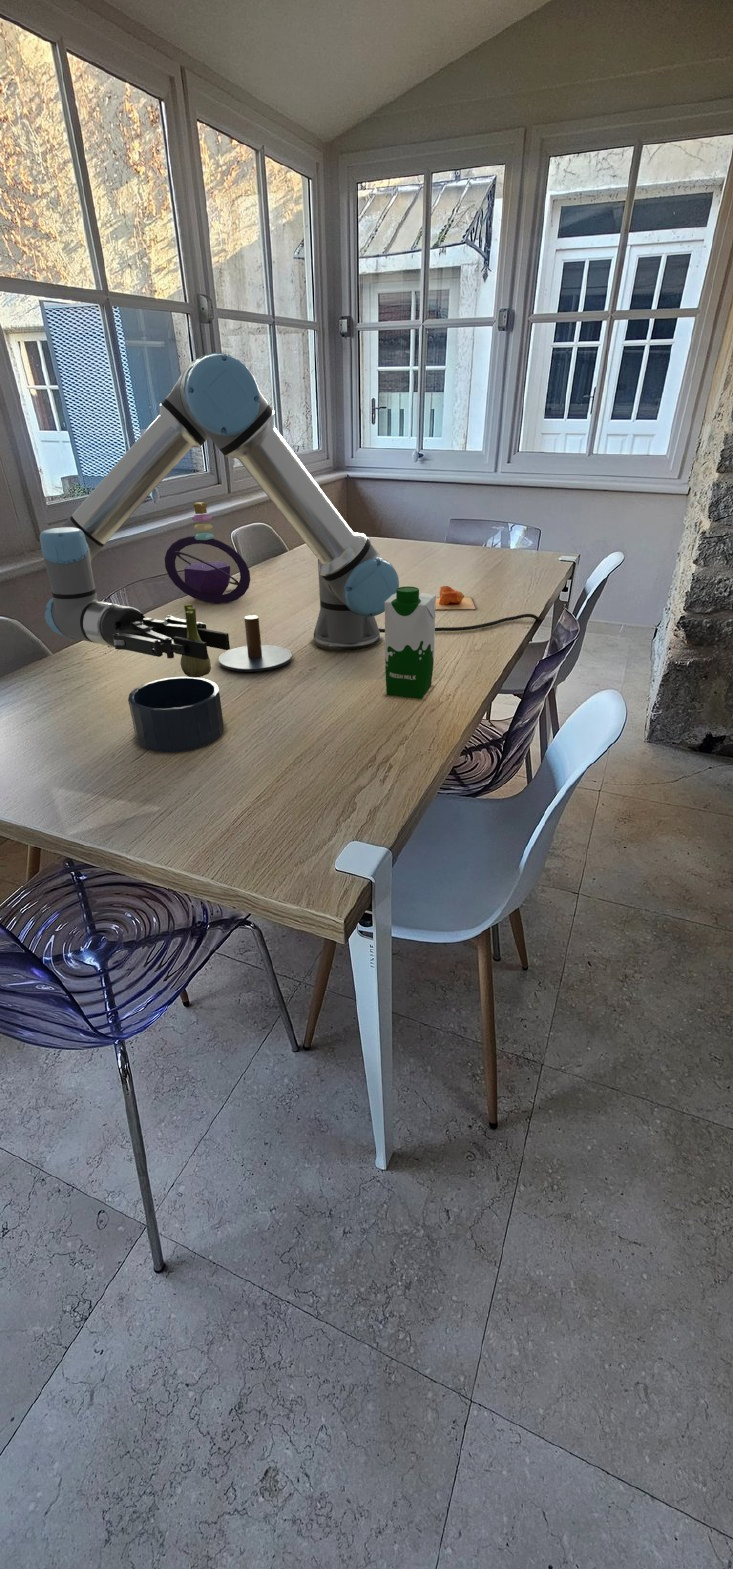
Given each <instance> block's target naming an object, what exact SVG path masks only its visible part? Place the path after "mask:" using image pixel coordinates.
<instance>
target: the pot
mask: <svg viewBox="0 0 733 1569" xmlns="http://www.w3.org/2000/svg"><path fill="white" fill-rule="evenodd" d="M127 700H128V706H129V711H130V715H131V716H130V717H131V721H132V726H133V730H134V731H133V732H134V735H135V740H136V743H137V744H138V745H139V746H140V747H142V748H144V749H146V750H148V751H152V752H157V753H166V754H167V753H170V754H173V753H183V752H190V751H194V750H198V749H201V748H204V747H207V746H208V745H210V744H213V743H215V742H216V741H217V740H219V739H220V738H221V737H222V736H223V734H224V732H225V726H224V717H223V709H222V701H221V694H220V686H219V685H218V684H217V683H216V682H214V681H213V680H210V679H207V678H203V677H198V678H192V677H188V676H175V677H174V676H173V677H165V678H161V679H155V680H152V681H150V682H146V683H144V684H142V685H140V686H138V687H136V688H134V689H133V690H132V691H131V692H130V693H129V694H128V698H127Z"/></svg>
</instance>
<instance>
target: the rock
mask: <svg viewBox="0 0 733 1569" xmlns="http://www.w3.org/2000/svg"><path fill="white" fill-rule="evenodd" d="M435 610H445V611H447V610H476V607H475V605H474V602H473V600H472V597H471V596H470V597H469V596H468V597H467V596H466V597H465V594H464V593H463V592H462V591H458V590H456V589H454V588H452V587H450V586H448V585H442V586H440V590H439V597H436V602H435Z"/></svg>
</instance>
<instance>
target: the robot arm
mask: <svg viewBox="0 0 733 1569" xmlns="http://www.w3.org/2000/svg"><path fill="white" fill-rule="evenodd" d="M259 388H260V387H259V385H258V383H257V380H256V378H255V376H254V374H253V372H252V371H251V370H250V368H248V366H246V365H245V363H243V361H241V360H240V359H238V358H236V357H234V356H233V355H231V354H227V353H223V352H210V353H206V354H203V355H201V356H200V357H199V358H196V359H194V360H193V361H191V362H189V364H187V365H186V367H185V368H184V370H183V371H182V373H181V374H180V376H179V378H178V379H177V382H176V383H175V385H174V386H173V387H172V388H171V391H170V392H169V393H168V394H167V395H166V397H165V398H164V400H163V401H162V402H161V403H160V404H159V415H158V416H157V417H156V418H155V420H153V421H152V422H151V424H150V425H149V426H148V427H147V428H146V430H145V431H144V432H143V433H142V434H141V435H140V436H139V438H138V439H136V441H135V442H134V443H133V445H132V446H131V447H130V448H128V450H127V451H126V453H124V455H123V456H122V457H121V458H120V459H119V460H118V462H116V464H115V465H114V466H113V467H112V468H111V470H110V471H109V472H108V473H107V474H106V475H105V476H104V477H103V479H102V480H100V482H99V483H98V484H97V485H96V487H94V489H93V490H92V491H90V493H89V495H88V496H87V497H86V498H85V499H84V500H83V501H82V503H81V504H80V505H79V506H78V507H77V508H76V509H75V511H74V512H73V513H71V516H69V518H68V519H67V520H65V522H64V523H63V524H62V525H61V527H54V528H48V529H45V530H42V532H40V534H39V541H40V546H41V547H40V548H41V551H40V552H41V555H42V557H43V561H44V565H45V569H46V573H47V577H48V581H49V586H50V589H51V596H52V598H50V599H49V600H48V602H46V606H45V611H44V618H45V622H46V624H47V626H48V627H49V629H50V630H51V631H53V632H54V633H55V634H57V635H60V636H63V637H66V638H68V639H71V640H76V641H77V640H79V641H84V642H89V643H94V644H98V645H102V646H107V648H109V649H111V648H114V649H115V650H117V651H118V650H121V651H130V652H134V653H139V654H143V655H148V656H152V657H158V658H160V657H162V656H164V654H166V658H167V659H174V658H175V654H177V655H180V656H182V655H185V656H189V657H194V658H199V659H203V660H206V659H208V655H209V652H208V648H214V649H219V650H222V651H228V650H231V646H230V637H229V632H224V631H223V632H222V631H220V630H219V631H218V630H213V629H208V628H207V623H205V622H201V621H196V623H197V631H198V634H199V636H200V638H201V640H202V641H197V640H192V639H187V625H186V618H185V619H184V618H178V617H176V616H172V615H170V614H169V615H165V616H164V618H165V619H164V620H162V619H155V618H153V617H146V616H145V615H144V614H143V612H141V611H140V610H139V609H138V608H136V607H133V606H126V605H121V604H117V603H111V602H106V601H100V600H98V599H99V598H98V594H97V588H96V583H95V579H94V578H95V577H94V573H93V572H94V571H93V567H92V560H93V559H94V558H95V557H96V555H97V554H98V553H100V551H101V550H102V548H103V547H104V546H105V545H106V544H107V543H108V542H109V540H110V539H111V538H112V537H113V536H114V535H115V534H116V533H117V531H118V530H119V529H120V528H121V527H122V526H123V525H124V524H125V522H126V521H127V520H128V519H130V517H131V516H132V515H133V514H134V512H135V511H136V510H137V509H138V508H139V507H140V506H141V505H142V504H143V503H144V502H145V500H146V499H147V498H148V497H149V496H150V495H151V493H152V492H153V491H154V490H155V489H156V488H157V487H158V486H159V485H160V484H161V482H163V480H164V479H165V478H166V477H167V476H168V475H169V474H170V473H171V471H172V470H173V469H174V468H175V467H176V466H177V465H178V464H179V462H180V461H182V460H183V458H184V457H185V456H186V455H187V454H188V452H190V450H192V449H193V448H201V447H202V446H203V444H205V443H206V441H208V439H210V440H211V441H212V443H213V444H214V445H215V446H216V448H217V449H218V450H219V451H220V452H221V453H222V455H223V456H224V457H225V458H231V459H237V460H238V461H239V462H240V464H241V465H242V466H243V467H244V469H245V470H246V471H247V472H248V473H249V475H250V476H251V477H252V478H253V480H254V481H255V483H256V484H257V485H258V486H259V487H260V488H261V490H262V491H263V492H264V493H265V495H266V496H267V498H269V499H270V501H271V502H272V503H273V504H274V506H275V507H276V508H277V510H278V511H279V512H280V513H281V515H282V516H283V517H284V518H285V520H286V521H287V522H288V523H289V525H290V526H291V527H292V528H293V530H294V531H295V532H296V533H297V535H298V536H299V537H300V538H301V540H302V541H303V542H304V543H305V545H306V546H307V547H308V548H309V549H310V551H311V552H312V553H313V555H314V556H315V557H316V558H317V570H318V589H319V590H318V592H319V605H320V606H319V611H318V617H317V619H316V624H315V627H314V630H313V642H314V645H316V646H317V647H318V648H321V649H323V650H328V651H335V652H353V651H354V652H355V651H361V650H362V651H363V650H366V649H370V648H372V647H375V646H376V645H378V644H379V643H380V641H381V633H384V634H385V628H379V625H378V622H377V620H376V616H379V615H382V614H383V613H385V603H384V602H385V601H386V600H387V599H389V598H390V597H391V595H393V594H395V593H396V590H397V588H399V587H400V579H399V574H398V572H397V570H396V569H395V567H394V565H393V564H392V563H391V562H389V561H388V560H387V559H385V558H383V557H382V555H380V553H379V552H378V550H377V549H376V548H375V546H374V545H373V543H372V541H371V539H370V537H368V536H367V535H366V534H365V533H363V532H354V531H353V530H352V528H351V527H350V526H349V524H348V523H347V521H346V520H345V518H343V516H342V515H341V513H340V512H339V511H338V510H337V508H336V507H335V506H334V504H333V503H332V501H331V500H330V498H329V497H328V496H327V495H326V494H325V492H324V491H323V489H322V488H321V487H320V485H319V483H317V481H316V480H315V478H314V477H313V476H312V475H311V473H310V472H309V471H308V469H307V468H306V467H305V465H304V464H303V463H302V462H301V460H300V458H299V457H298V456H297V454H296V453H295V452H294V451H293V449H292V447H290V445H289V443H288V442H287V441H286V439H285V438H284V437H283V436H282V434H281V433H280V432H279V431H278V429H277V428H276V427H275V410H274V409H273V408H272V406H271V405H270V404H269V402H268V401H267V399H266V398H265V397H264V395H263V394H262V392H261V391H260V389H259ZM525 618H531V619H534V620H535V621H537V622H540V621H541V618H540V617H539V616H538V615H536V614H535V613H534V614H533V613H523V614H518V615H514V616H507V617H503V618H500V619H496V620H493V621H489V622H484V623H480V624H475V625H468V626H453V627H448V626H447V627H446V626H445V627H435V632H461V631H462V632H463V631H471V630H477V629H481V628H487V627H492V626H495V625H499V624H502V623H504V622H510V621H515V620H519V619H525ZM163 653H164V654H163Z"/></svg>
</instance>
